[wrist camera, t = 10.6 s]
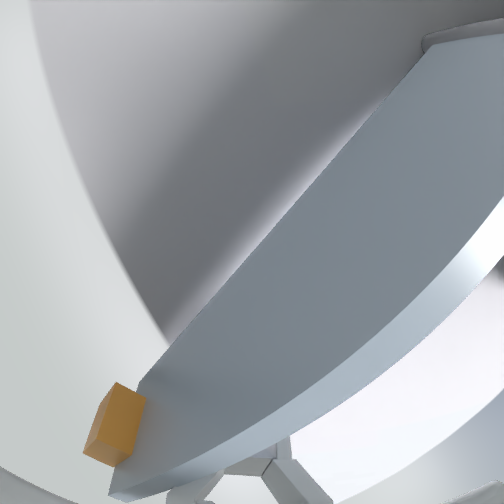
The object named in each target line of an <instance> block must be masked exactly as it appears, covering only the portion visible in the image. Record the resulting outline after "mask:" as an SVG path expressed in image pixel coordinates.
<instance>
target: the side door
mask: <svg viewBox="0 0 504 504" xmlns="http://www.w3.org/2000/svg"><path fill="white" fill-rule="evenodd" d="M422 49H423V51H424V55H423V56H422V57H421V58H420V60H419V61H418V62H417V63H416V64H415V65H414V67H413V68H412V69H411V70H410V71H409V72H408V73H407V75H406V76H405V77H404V78H403V79H402V80H401V82H400V83H399V84H398V85H397V86H396V87H395V88H394V90H393V91H392V92H391V93H390V94H389V95H388V97H387V98H386V99H385V100H384V101H383V102H382V103H381V105H380V106H379V107H378V108H377V109H376V110H375V111H374V113H373V114H372V115H371V116H370V117H369V118H368V120H367V121H366V122H365V123H364V124H363V125H362V126H361V128H360V129H359V130H358V131H357V132H356V133H355V135H354V136H353V137H352V138H351V139H350V140H349V141H348V143H347V144H346V145H345V146H344V147H343V148H342V149H341V151H340V152H339V153H338V154H337V155H336V156H335V158H334V159H333V160H332V161H331V162H330V163H329V164H328V166H327V167H326V168H325V169H324V170H323V171H322V173H321V174H320V175H319V176H318V177H317V178H316V179H315V181H314V182H313V183H312V184H311V185H310V186H309V187H308V189H307V190H306V191H305V192H304V193H303V194H302V196H301V197H300V198H299V199H298V200H297V201H296V202H295V204H294V205H293V206H292V207H291V208H290V209H289V210H288V212H287V213H286V214H285V215H284V216H283V217H282V219H281V220H280V221H279V222H278V223H277V224H276V225H275V227H274V228H273V229H272V230H271V231H270V232H269V234H268V235H267V236H266V237H265V238H264V239H263V240H262V242H261V243H260V244H259V245H258V246H257V247H256V248H255V250H254V251H253V252H252V253H251V254H250V255H249V257H248V258H247V259H246V260H245V261H244V262H243V263H242V265H241V266H240V267H239V268H238V269H237V270H236V271H235V273H234V274H233V275H232V276H231V277H230V278H229V280H228V281H227V282H226V283H225V284H224V285H223V286H222V288H221V289H220V290H219V291H218V292H217V293H216V294H215V296H214V297H213V298H212V299H211V300H210V301H209V303H208V304H207V305H206V306H205V307H204V308H203V309H202V311H201V312H200V313H199V314H198V315H197V316H196V317H195V319H194V320H193V321H192V322H191V323H190V324H189V326H188V327H187V328H186V329H185V330H184V331H183V332H182V334H181V335H180V336H179V337H178V338H177V339H176V340H175V342H174V343H173V344H172V345H171V346H170V347H169V349H168V350H167V351H166V352H165V353H164V354H163V356H162V357H161V358H160V359H159V360H158V361H157V362H156V364H155V365H154V366H153V367H152V368H151V369H150V371H149V372H148V373H147V374H146V375H145V376H144V378H142V380H141V381H140V382H139V385H138V388H137V391H136V392H134V391H132V390H130V389H128V388H126V387H125V386H122V385H121V384H119V383H117V382H116V383H115V384H114V386H113V387H112V388H111V389H110V391H109V392H108V394H107V395H106V396H105V398H104V399H103V401H102V402H101V403H100V405H99V408H98V411H97V413H96V416H95V419H94V422H93V424H92V427H91V430H90V433H89V436H88V439H87V442H86V445H85V448H84V451H83V453H84V454H85V455H88V456H90V457H92V458H94V459H96V460H98V461H100V462H102V463H105V464H107V465H109V466H111V467H115V469H114V473H113V477H112V481H111V485H110V489H109V493H108V496H110V497H113V498H115V499H118V500H121V501H124V502H131V501H134V500H138V499H142V498H145V497H148V496H152V495H155V494H158V493H161V492H164V491H167V490H170V489H172V488H173V487H174V486H175V487H179V486H182V485H184V484H187V483H190V482H192V481H195V480H198V479H200V478H203V477H205V476H208V475H210V474H212V473H215V472H217V471H219V470H222V469H224V468H226V467H229V466H231V465H233V464H235V463H237V462H239V461H242V460H244V459H246V458H248V457H250V456H252V455H254V454H256V453H258V452H260V451H262V450H264V449H266V448H268V447H270V446H271V445H273V444H275V443H277V442H279V441H281V440H283V439H284V438H286V437H288V436H290V435H291V434H293V433H295V432H297V431H298V430H300V429H302V428H303V427H305V426H307V425H308V424H310V423H312V422H313V421H315V420H317V419H318V418H320V417H321V416H323V415H325V414H326V413H328V412H329V411H331V410H332V409H334V408H335V407H337V406H338V405H340V404H341V403H343V402H344V401H346V400H347V399H349V398H350V397H351V396H353V395H354V394H356V393H357V392H358V391H360V390H361V389H363V388H364V387H365V386H367V385H368V384H369V383H371V382H372V381H373V380H375V379H376V378H377V377H379V376H380V375H381V374H383V373H384V372H385V371H386V370H388V369H389V368H390V367H391V366H393V365H394V364H395V363H396V362H398V361H399V360H400V359H401V358H402V357H404V356H405V355H406V354H407V353H408V352H410V351H411V350H412V349H413V348H414V347H415V346H416V345H418V344H419V343H420V342H421V341H422V340H423V339H424V338H425V337H427V336H428V335H429V334H430V333H431V332H432V331H433V330H434V329H435V328H436V327H437V326H438V325H439V324H441V323H442V322H443V321H444V320H445V319H446V318H447V317H448V316H449V315H450V314H451V313H452V312H453V311H454V310H455V309H456V308H457V307H458V306H459V305H460V304H461V303H462V302H463V301H464V299H465V298H466V297H467V296H468V295H469V294H470V293H471V292H472V291H473V290H474V289H475V288H476V287H477V285H478V284H479V283H480V282H481V281H482V280H483V279H484V278H485V276H486V275H487V274H488V273H489V272H490V271H491V269H492V268H493V267H494V266H495V265H496V263H497V262H498V261H499V260H500V259H501V257H502V256H503V255H504V18H499V19H493V20H487V21H482V22H477V23H472V24H467V25H463V26H458V27H454V28H450V29H446V30H442V31H438V32H435V33H431V34H427V35H426V36H424V38H423V40H422Z"/></svg>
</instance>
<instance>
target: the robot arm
mask: <svg viewBox="0 0 504 504" xmlns="http://www.w3.org/2000/svg"><path fill="white" fill-rule="evenodd" d="M224 474H229V475H246V476H261V478H262V480H263V481H264V483H265V484H266V486H267V487H268V489H269V490H270V492H271V493H272V494H273V496H274V497H275V499H276V500H277V502H278V503H279V504H333V500H332V499H331V498H330V497H329V496H328V495H327V494H326V493H325V492H324V490H323V489H322V488H321V487H320V486H319V485H318V484H317V483H316V482H315V481H314V479H313V478H312V477H311V476H310V475H309V474H308V473H307V471H306V470H305V469H304V468H303V467H302V466H301V465H300V463H299V462H298V461H297V460H296V459H292V452H291V443H290V436H288V437H286V438H284V439H283V440H281V441H279V442H277V443H275V444H273V445H271V446H270V447H268V448H266V449H264V450H262V451H260V452H258V453H256V454H254V455H252V456H250V457H248V458H246V459H244V460H242V461H239V462H237V463H235V464H233V465H231V466H229V467H226V468H224V469H222V470H219V471H217V472H215V473H212V474H210V475H208V476H205V477H203V478H200V479H198V480H195V481H192V482H190V483H187V484H184V485H182V486H179V487H175V486H174V487H173V488H172V489H171V490H170V491H169V492H168V493H167V498H166V504H215V503H213V502H212V501H205V500H204V499H205V497H207V495H208V494H209V493H210V492H211V490H212V489H213V488H214V487H215V486H216V484H217V483H218V482H219V481H220V479H221V478H222V477H223V475H224ZM0 504H78V503H75V502H72V501H70V500H67V499H65V498H62V497H60V496H58V495H55V494H53V493H51V492H49V491H46V490H44V489H42V488H40V487H38V486H35V485H34V484H32V483H30V482H27V481H26V480H24V479H22V478H20V477H18V476H16V475H14V474H13V473H11V472H9V471H7V470H5V469H4V468H2V467H0ZM441 504H504V484H503V483H502V482H500V481H498V480H493V481H491V482H488V483H486V484H484V485H483V486H480V487H478V488H476V489H474V490H472V491H470V492H467V493H465V494H463V495H461V496H458V497H456V498H453V499H451V500H449V501H446V502H444V503H441Z"/></svg>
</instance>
